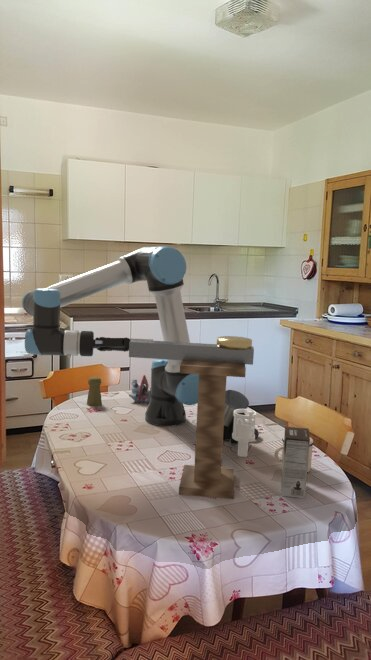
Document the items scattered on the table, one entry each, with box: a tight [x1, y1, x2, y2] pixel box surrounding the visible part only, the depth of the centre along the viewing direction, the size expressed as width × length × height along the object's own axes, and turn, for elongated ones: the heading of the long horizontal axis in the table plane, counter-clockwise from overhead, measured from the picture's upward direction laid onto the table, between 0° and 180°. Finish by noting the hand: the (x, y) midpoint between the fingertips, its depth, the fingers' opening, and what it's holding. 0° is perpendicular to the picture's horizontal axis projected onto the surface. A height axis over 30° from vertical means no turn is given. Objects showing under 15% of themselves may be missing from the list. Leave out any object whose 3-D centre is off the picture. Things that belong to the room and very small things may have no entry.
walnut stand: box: [178, 360, 247, 500], centre depth 133 cm, size 16×16×34 cm
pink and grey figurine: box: [128, 374, 151, 404], centre depth 211 cm, size 11×11×12 cm
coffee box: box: [280, 426, 310, 499], centre depth 133 cm, size 9×6×16 cm
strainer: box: [232, 408, 257, 458], centre depth 156 cm, size 7×7×15 cm
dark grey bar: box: [128, 335, 255, 366], centre depth 131 cm, size 32×9×6 cm, turn 85°
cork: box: [86, 376, 102, 407], centre depth 203 cm, size 6×6×11 cm
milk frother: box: [223, 389, 260, 445], centre depth 169 cm, size 14×16×15 cm
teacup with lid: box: [273, 435, 315, 473], centre depth 148 cm, size 12×9×12 cm
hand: (151, 345), depth 152 cm, fingers open, 13 cm apart
